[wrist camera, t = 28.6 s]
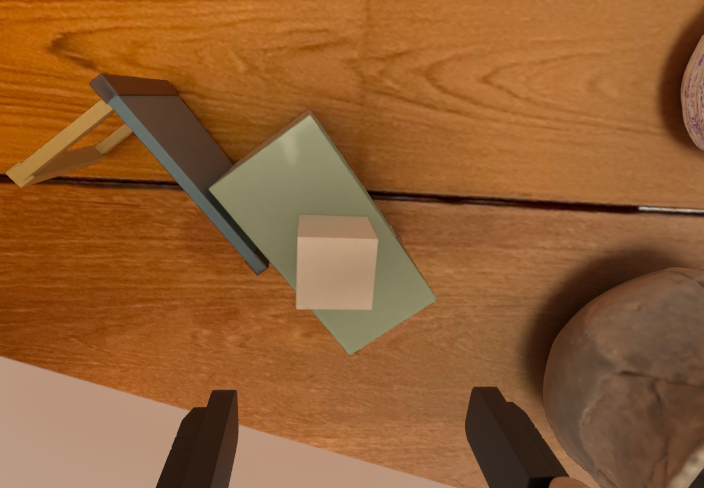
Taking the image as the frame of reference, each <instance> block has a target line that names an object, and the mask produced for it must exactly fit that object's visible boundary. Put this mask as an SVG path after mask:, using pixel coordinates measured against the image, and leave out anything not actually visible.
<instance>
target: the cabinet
mask: <svg viewBox="0 0 704 488" xmlns="http://www.w3.org/2000/svg"><path fill="white" fill-rule="evenodd" d="M233 165H234V166H232V167H231V168H230V169H229V170H228V171H227V172H226V173H225V174H224V175H223V176H222V177H221V178H219V179H218V180H217V181H216V182H215V183H214V184H213V185H212V186H211V187H210V188H209V191H210V192H211V193H212V194H213V195H214V196H215V198H216V199H217V200H218V201H219V202H220V204H221V205H222V206H223V207H224V208H225V209H226V211H227V212H228V213H229V214H230V215H231V216H232V218H233V219H234V220H235V221H236V222H237V224H238V225H239V226H240V227H241V228H242V229H243V231H244V232H245V233H246V234H247V235H248V236H249V238H250V239H251V240H252V241H253V242H254V244H255V245H256V246H257V247H258V248H259V249H260V251H261V252H262V253H263V254H264V255H265V256H266V258H267V259H268V260H269V261H270V262H271V264H272V265H273V266H274V267H275V268H276V269H277V271H278V272H279V273H280V274H281V275H282V276H283V278H284V279H285V280H286V281H287V282H288V284H289V285H290V286H291V287H292V288H293V289H294V291H295V292H296V269H297V233H298V221H299V215H300V214H303V215H332V216H361V217H368V219H369V221H370V223H371V226H372V228H373V230H374V232H375V234H376V236H377V238H378V249H377V260H376V271H375V282H374V292H373V303H372V310H322V309H311V311H312V312H313V313H314V314H315V315H316V316H317V318H318V319H319V320H320V321H321V322H322V324H323V325H324V326H325V327H326V328H327V329H328V331H329V332H330V333H331V334H332V335H333V336H334V338H335V339H336V340H337V341H338V342H339V344H340V345H341V346H342V347H343V348H344V349H345V351H346V352H347V353H348V354H349V355H351V354H353V353H354V352H356V351H358V350H359V349H361V348H362V347H364V346H365V345H367V344H369V343H370V342H372V341H373V340H375V339H376V338H378V337H380V336H381V335H383V334H384V333H386V332H387V331H389V330H391V329H392V328H394V327H395V326H397V325H398V324H400V323H402V322H403V321H405V320H406V319H408V318H409V317H411V316H412V315H414V314H416V313H417V312H419V311H420V310H422V309H423V308H425V307H427V306H428V305H430V304H431V303H433V302H434V301H436V300H437V298H436V296H435V295H434V293H433V291H432V290H431V288H430V287H429V285H428V283H427V282H426V280H425V279H424V277H423V276H422V274H421V272H420V271H419V269H418V268H417V266H416V264H415V263H414V261H413V260H412V258H411V256H410V255H409V253H408V252H407V250H406V249H405V247H404V245H403V244H402V242H401V241H400V239H399V238H398V236H397V235H396V233H395V232H394V230H393V229H392V227H391V226H390V225H389V223H388V222H387V220H386V219H385V217H384V216H383V214H382V213H381V211H380V210H379V208H378V207H377V206H376V204H375V203H374V201H373V200H372V198H371V197H370V195H369V194H368V192H367V191H366V189H365V188H364V187H363V185H362V184H361V182H360V181H359V179H358V178H357V176H356V175H355V173H354V172H353V170H352V169H351V168H350V166H349V165H348V163H347V162H346V160H345V159H344V157H343V156H342V154H341V153H340V151H339V150H338V149H337V147H336V146H335V144H334V143H333V141H332V140H331V138H330V137H329V135H328V134H327V132H326V131H325V130H324V128H323V127H322V125H321V124H320V122H319V121H318V119H317V118H316V116H315V115H314V113H313V112H312V111H311V109H310V108H309V109H308V110H306V111H305V112H304V113H302V114H301V115H299V116H298V117H297V118H295V119H294V120H293V121H291V122H290V123H289V124H287V125H286V126H285V127H283V128H282V129H280V130H279V131H278V132H276V133H275V134H274V135H272V136H271V137H270V138H268V139H267V140H266V141H264V142H263V143H261V144H260V145H259V146H257V147H256V148H255V149H253V150H252V151H251V152H249V153H248V154H247V155H245V156H244V157H242V158H241V159H240V160H238V161H237V162H236V163H234V164H233Z"/></svg>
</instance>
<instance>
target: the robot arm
mask: <svg viewBox="0 0 704 488" xmlns="http://www.w3.org/2000/svg"><path fill="white" fill-rule="evenodd" d="M465 431H466V436H467V440H468V442H469V444H470V446H471V449H472V451H473V453H474V455H475V457H476V459H477V462H478V464H479V466H480V468H481V470H482V473H483V475H484V477H485V479H486V481H487V483H488V486H489V488H590V487H588V486H587V485H585V484H584V483H582V482H580V481H578V480H576V479H573V478H570V477H569V475H568V474H567V472H566V471H565V469H564V468H563V466H562V465H561V464H560V462H559V461H558V459H557V458H556V456H555V455H554V453H553V452H552V450H551V449H550V447H549V446H548V445H547V443H546V442H545V440H544V439H542V436H541V434H540V433H539V431H538V430H537V428H535V426H534V424H533V423H532V421H531V420H530V418H529V417H528V415H527V414H526V413H525V412H524V411H523V410H522V409H521V408H519V407H518V406H517V405H516V404H515V403H513V402H507V401H506V400H505V398H504V397H503V395H502V394H501V392H500V391H499V389H498V388H497V387H474V388H473V389H472V392H471V396H470V401H469V406H468V411H467V416H466V421H465ZM237 441H238V403H237V391H236V390H213V391H212V393H211V396H210V399H209V402H208V405H207V407H194V408H193V409H192V410H191V411H190V412H189V413H188V414H187V415H186V417H185V418H184V419H183V420H182V422H181V424H180V427H179V430H178V432H177V436H176V438H175V440H174V442H173V445H172V449H171V450H170V453H169V455H168V458H167V460H166V463H165V465H164V468H163V471H162V473H161V476H160V478H159V481H158V483H157V486H156V488H228V487H229V482H230V477H231V472H232V467H233V463H234V458H235V453H236V447H237Z"/></svg>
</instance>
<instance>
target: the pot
mask: <svg viewBox="0 0 704 488" xmlns="http://www.w3.org/2000/svg"><path fill="white" fill-rule="evenodd" d="M543 403H544V409H545V413H546V417H547V420H548V422H549V424H550V426H551V428H552V430H553V431H554V433H555V436H556V438H557V440H558V442H559V443H560V445H561V446H562V448H563V449H564V450H565V451H566V453H567V455H568V456H569V457H570V458H571V459H573V460H574V461H575V462H576V463H577V464H579V465H580V466H581V467H582V468H583V469H584V470H585V471H587V472H588V473H589V474H590V475H591V476H592V477H593V478H594V480H595V481H596V482H597V483H598V484H599V486H600V487H601V488H704V270H701V269H694V268H683V267H673V268H667V269H663V270H659V271H654V272H650V273H647V274H644V275H641V276H638V277H636V278H634V279H631V280H629V281H627V282H624V283H622V284H620V285H618V286H616V287H614V288H612V289H610V290H608V291H606V292H604V293H603V294H601V295H599V296H598V297H596V298H594V299H593V300H592V301H590V302H589V303H588V304H586V305H585V306H584V307H583V308H582V309H580V310H579V311H578V312H577V313H576V314H575V315H574V316H573V317H572V318H571V319H570V321H569V322H568V323H567V324H566V325H565V326H564V327H563V329H562V330H561V331H560V332H559V334H558V335H557V337H556V338H555V340H554V342H553V345H552V347H551V350H550V354H549V357H548V361H547V365H546V369H545V375H544V382H543Z"/></svg>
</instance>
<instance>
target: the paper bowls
mask: <svg viewBox="0 0 704 488" xmlns="http://www.w3.org/2000/svg"><path fill="white" fill-rule="evenodd" d="M681 104H682V110H683V120H684V123H685V126H686V128H687V131H688V133H689V136H690V137H691V139H692V140H693V142H694V143H695V144H696V146H697V147H698V148H700V149H701V150H702V151H704V35H703V36H702V38H701V39H700V41H699V43H698V45H697V47H696V49H695V50H694V52H693V54H692V56H691V59H690V61H689V63H688V65H687V67H686V70H685V72H684V75H683V79H682V84H681Z"/></svg>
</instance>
